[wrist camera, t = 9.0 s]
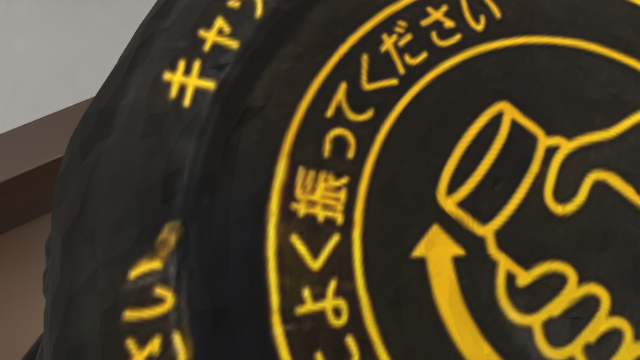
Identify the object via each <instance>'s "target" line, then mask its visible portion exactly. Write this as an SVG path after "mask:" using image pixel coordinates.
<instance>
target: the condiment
mask: <svg viewBox="0 0 640 360" xmlns="http://www.w3.org/2000/svg"><path fill="white" fill-rule="evenodd" d="M45 257H46V267H45V270H44V272H43V288H42V292H43V295H44V297H45V300H46V303H45V309H44V330H43V338H42V341H41V343H40V347H39V350H38V353H37V356H36V360H640V0H157V2H156V3H155V5H154V6H153V7H152V9H151V10H150V12H149V13H148V14H147V16H146V17H145V19H144V20H143V21H142V23H141V24H140V26H139V27H138V29H137V30H136V32H135V34H134V35H133V37H132V39H131V40H130V42H129V43H128V45H127V47H126V48H125V50H124V51H123V53H122V55H121V56H120V58H119V60H118V62H117V64H116V65H115V67H114V68H113V70H112V71H111V73H110V74H109V76H108V77H107V79H106V80H105V82H104V83H103V85H102V87H101V88H100V90H99V91H98V93H97V94H96V96H95V97H94V99H93V100H92V102H91V103H90V105H89V107H88V108H87V110H86V111H85V113H84V114H83V116H82V118H81V119H80V121H79V123H78V125H77V127H76V128H75V130H74V132H73V134H72V136H71V137H70V140H69V142H68V145H67V148H66V150H65V153H64V156H63V158H62V162H61V166H60V169H59V173H58V176H57V181H56V188H55V195H54V202H53V209H52V216H51V232H50V234H49V236H48V238H47V240H46V242H45Z"/></svg>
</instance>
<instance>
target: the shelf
mask: <svg viewBox="0 0 640 360" xmlns="http://www.w3.org/2000/svg"><path fill="white" fill-rule="evenodd" d="M93 99H94V97H92V98H90V99H87V100H85V101H82V102H80V103H77V104H75V105H72V106H70V107H67V108H65V109H62V110H60V111H57V112H55V113H52V114H50V115H47V116H45V117H42V118H40V119H37V120H35V121H32V122H30V123H27V124H25V125H22V126H20V127H17V128H15V129H12V130H10V131H7V132H5V133H2V134H0V360H21V359H22V358H23V356H24V355H25V354H26V352H27V351H28V350H29V349H30V347H31V346H32V345H33V344H34V342H35V341H36V340H37V339H38V337H39V336H40V335H41V333H42V332H43V330H44V309H45V303H46V300H45V297H44V295H43V292H42V288H43V272H44V270H45V267H46V257H45V242H46V240H47V238H48V236H49V234H50V232H51V216H52V209H53V202H54V195H55V188H56V181H57V176H58V173H59V169H60V166H61V162H62V158H63V156H64V153H65V150H66V148H67V145H68V142H69V140H70V137H71V136H72V134H73V132H74V130H75V128H76V127H77V125H78V123H79V121H80V119H81V118H82V116H83V114H84V113H85V111H86V110H87V108H88V107H89V105H90V103H91V102H92V100H93Z"/></svg>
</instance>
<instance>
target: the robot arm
mask: <svg viewBox="0 0 640 360" xmlns="http://www.w3.org/2000/svg"><path fill="white" fill-rule="evenodd" d="M42 338H43V332H42V333H41V335H40V336H39V337H38V339H37V340H36V341H35V342H34V344H33V345H32V346H31V347H30V349H29V350H28V351H27V352H26V354H25V355H24V356H23V358H22V359H21V360H36V356H37V353H38V350H39V347H40V343H41V341H42Z"/></svg>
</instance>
